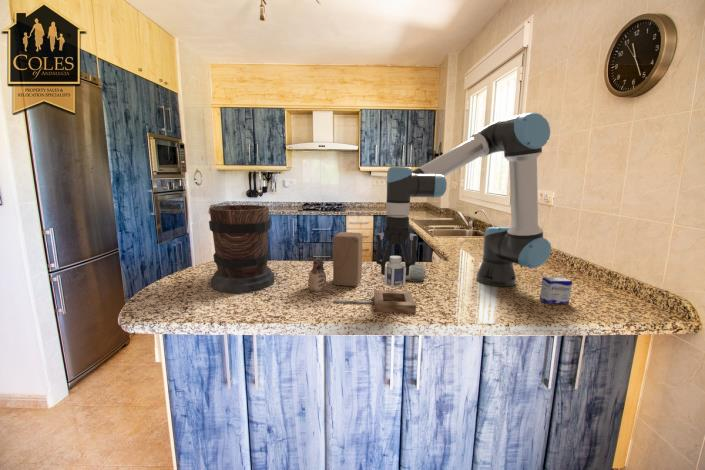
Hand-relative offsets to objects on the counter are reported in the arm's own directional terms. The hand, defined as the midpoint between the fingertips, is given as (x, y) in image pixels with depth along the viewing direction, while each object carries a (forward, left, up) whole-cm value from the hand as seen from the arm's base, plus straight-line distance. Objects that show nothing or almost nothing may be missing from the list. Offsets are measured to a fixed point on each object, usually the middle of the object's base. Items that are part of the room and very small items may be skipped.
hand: (394, 284), depth 109 cm
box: (-57, -7, -7) cm, 58 cm away
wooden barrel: (+59, -20, -7) cm, 63 cm away
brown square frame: (+7, 0, -7) cm, 10 cm away
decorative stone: (-9, -31, -8) cm, 33 cm away
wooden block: (+17, -21, -7) cm, 28 cm away
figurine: (+28, -13, -7) cm, 32 cm away
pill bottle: (0, 0, -1) cm, 1 cm away
